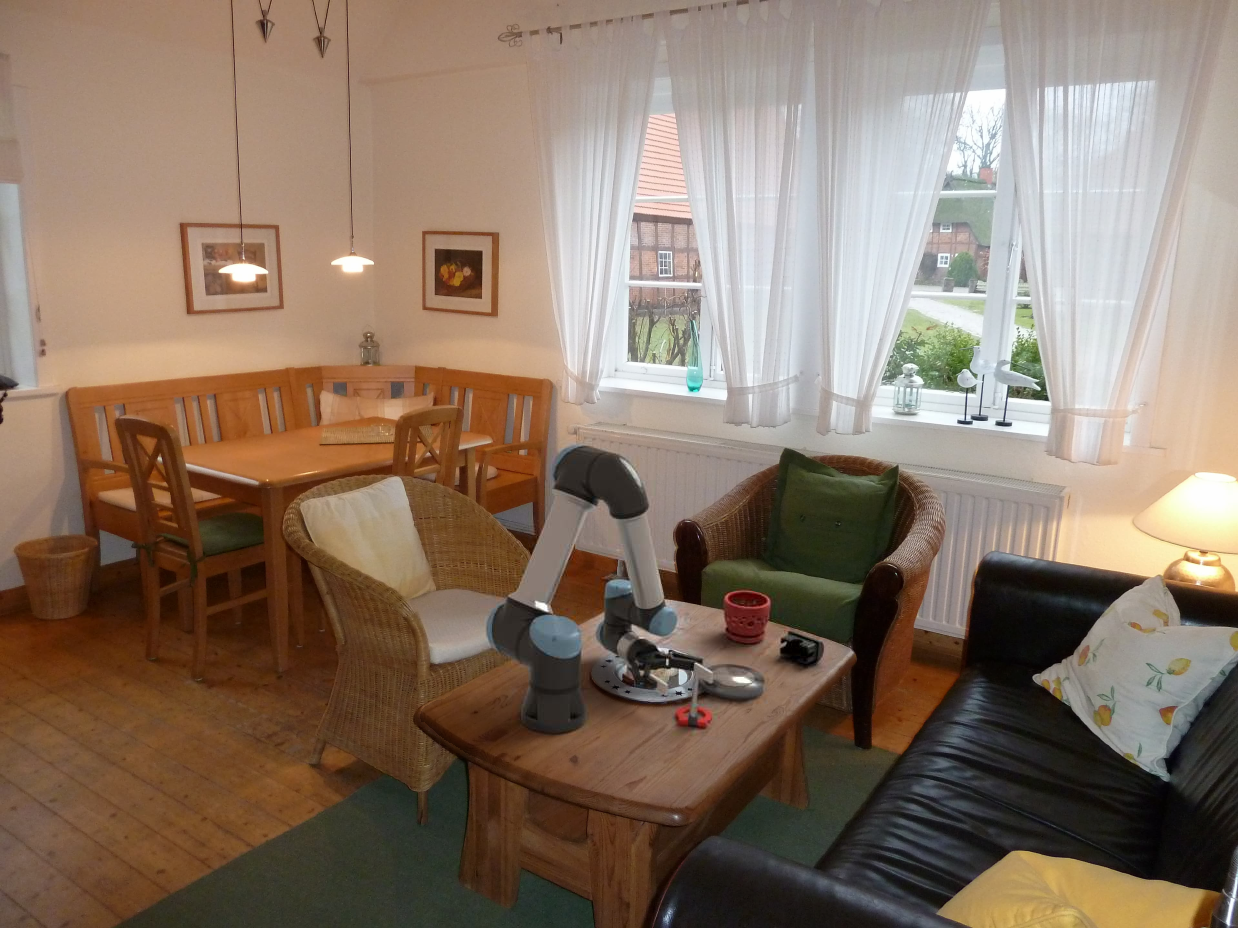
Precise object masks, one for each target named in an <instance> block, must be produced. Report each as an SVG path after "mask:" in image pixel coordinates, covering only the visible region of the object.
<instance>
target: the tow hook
mask: <svg viewBox="0 0 1238 928" xmlns="http://www.w3.org/2000/svg"><path fill="white" fill-rule="evenodd" d="M698 678H699V676H698V673H695V674H694V679H693V682H692V690H691V691H692V694H691V704H690V706H683V707H680V708H678V709H677V710H676V713H675V714H676V715H675V716H676V718H677V719H678V722H677V723H678V724H677V725H682V726H687V727H693V728H694V727H695V728H697V727H699V728H707V727H708V723H709V722H711V721H712V719H713V715H712V712H710V710H708V709H706V708H703V707H698V706H699V705H698V704H697V703H698V692H699V691H698V689H699V681H698ZM686 713H689V714H688V716H685V715H684V714H686ZM698 713H699V714H701V715H703V716H704V717H701V718H699V714H698Z"/></svg>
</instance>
